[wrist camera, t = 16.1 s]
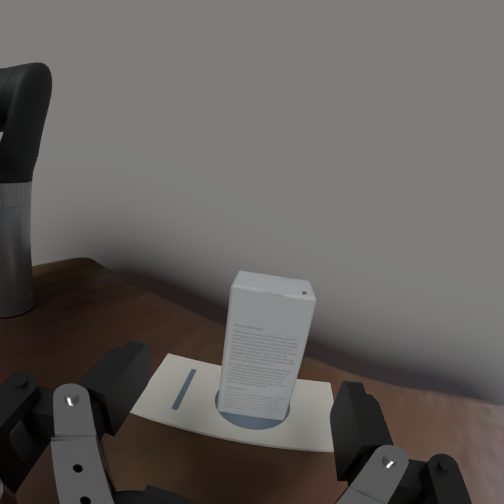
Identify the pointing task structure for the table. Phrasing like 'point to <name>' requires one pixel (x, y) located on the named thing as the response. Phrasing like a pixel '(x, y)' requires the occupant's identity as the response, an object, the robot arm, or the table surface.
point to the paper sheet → (232, 425)
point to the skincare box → (264, 344)
